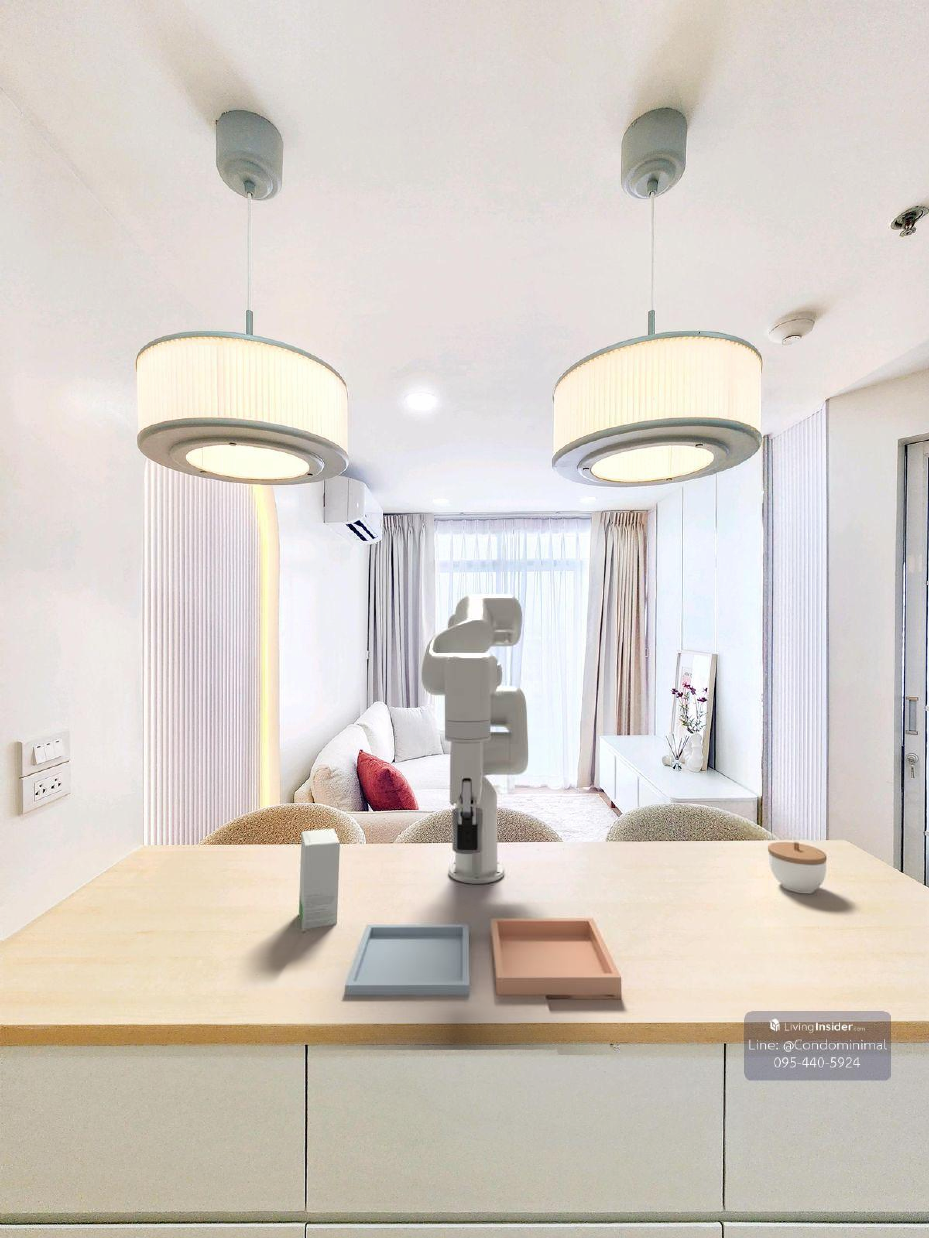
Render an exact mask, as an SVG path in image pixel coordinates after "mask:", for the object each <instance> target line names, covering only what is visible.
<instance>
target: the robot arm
mask: <svg viewBox="0 0 929 1238" xmlns="http://www.w3.org/2000/svg"><path fill="white" fill-rule="evenodd" d="M454 612H455V613H454V614H452V615H451V616H449V619H448V622H447V628H446V629H445V630H443V631H441V632H440V633H438V634H436V635H435V636H434V637H433V638H431V640H430V641H429V642H428V644H427V646H426V649H425V652H424V657H423V660H422V661H423V662H422V666H421V683H422V685H423V688H424V690H425V691H426V692H427V693H429V694H430V695H434V696H444V740H445V741H446V742H450V751H449V752H450V754H449V756H450V757H449V804H450V805H451V806H454V805H455V808H459V822H458V823H457V849H458V850H477V848H478V823H476V808H480V809H482V810H483V850H482V851H481V852H479V853H475V854H460V853H457V852H455V851H454V852H455V861H453V862H452V863H451V864H449V866H448V875H449V876H450V877H451V878H452V879H453V880H456V881H457V882H460V883H465V884H474V885H475V884H476V885H478V884H479V885H480V884H488V883H489V884H490V883H493V882H496V881H499V880H500V879H501V878H503V877H504V875H505V867H504V865H503V864H502V863H501V862H499V861H498V795H497V791H496V789H495V787H494V785H493V784H492V783H491V782H490V780H489V779H488V778H487V777H486V776H491V775H493V776H494V775H495V776H496V775H497V776H499V775H500V776H506V775H507V776H508V775H509V776H515V775H517V776H518V775H521V774H523V773H525V772H526V771H527V768H528V765H529V736H528V735H529V734H528V731H529V730H528V710H527V701H526V697H525V694H524V692H523V690H522V689H521V688H520V687H517V686H514V685H513V686H512V685H501V684H502V681H503V669H502V665H501V663H500V662H499V661H498V659H497V658H496V656H494V655H492V654H489V653H487V652H488V651H489V650H490V649H491V648H492V647H513V646H515V645H517V644H518V642H519V641H520V638H521V634H522V625H523V611H522V606H521V604H520V602H519V600H518V599H517V597H516V596H514V595H511V594H506V593H505V594H504V593H503V594H501V593H500V594H497V593H496V594H494V593H493V594H492V593H491V594H486V593H482V594H480V593H478V594H471V595H466V596H465V597H462V599H460V600H459V601H458V603H457V604H456V608H455V611H454ZM495 727H496V728H497V727H498V728H505V729H506V730H507V731H491V728H495ZM455 808H454V809H455ZM462 808H463V810H462ZM471 808H473V811H472V810H471ZM472 817H473V820H472ZM472 822H473V823H472Z"/></svg>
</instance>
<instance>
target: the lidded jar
mask: <svg viewBox="0 0 929 1238" xmlns="http://www.w3.org/2000/svg"><path fill="white" fill-rule="evenodd" d="M767 851H768V860H769V861H768V862H769V867H770V870H771V873H772V874H773V875H772V876H774V879H776V880H777V881H778V883H780V885H781V887H782V888H784V889H785V890H787V891H790V892H793V893H798V894H807V895H808V894H813V893H814V892H815V890H817V889H818V888H820V886H821V885H822V884H823V883H824V881H825V878H826V872H827V859H828V858H827V854H826V853H825V852H824V851H823V850H821V849H819V848H816V847H815V846H812V845H807V844H804V843H799V841H793V842H791V841H790V842H788V841H777V842H776V841H775V842H772V843H770V844H768V846H767Z"/></svg>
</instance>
